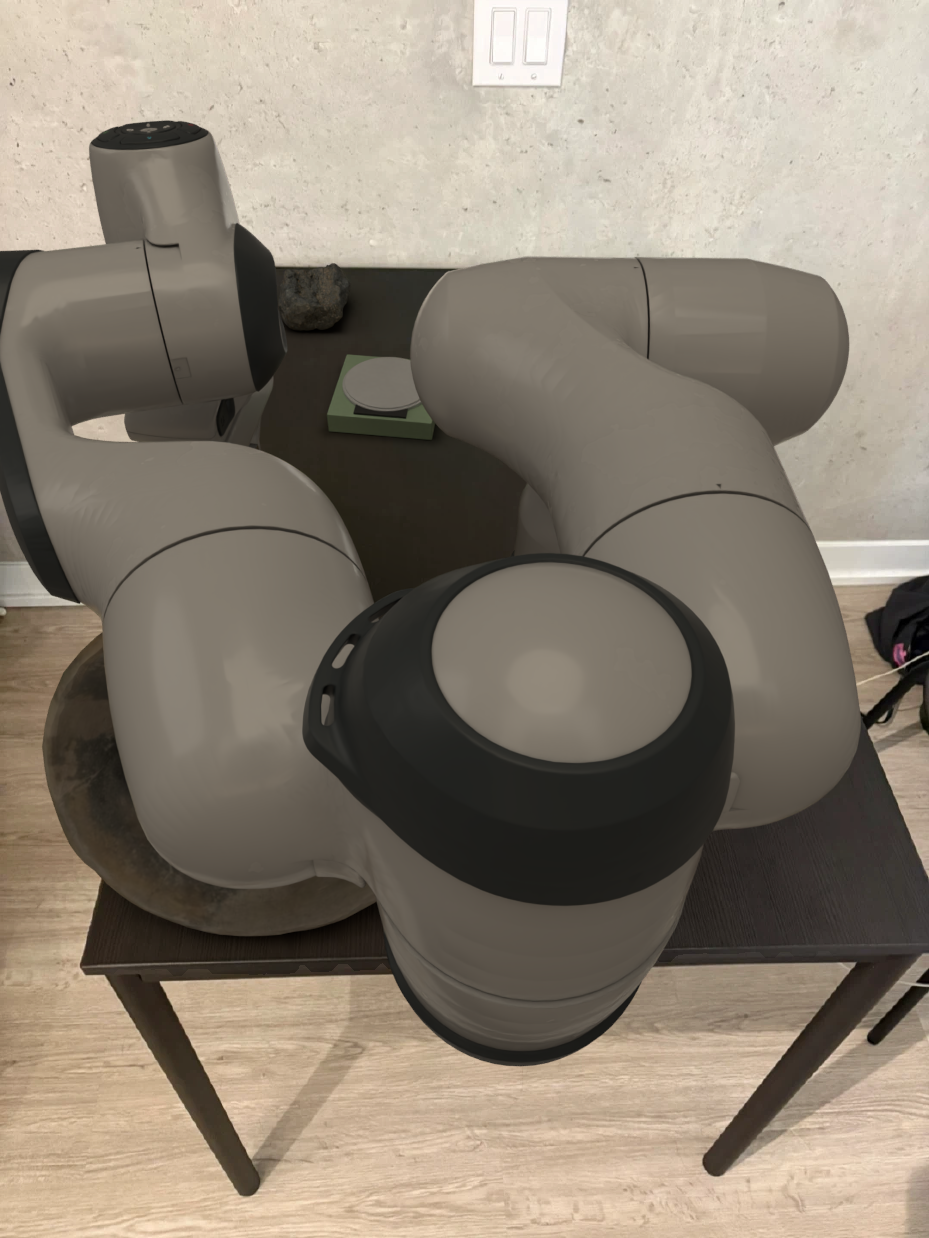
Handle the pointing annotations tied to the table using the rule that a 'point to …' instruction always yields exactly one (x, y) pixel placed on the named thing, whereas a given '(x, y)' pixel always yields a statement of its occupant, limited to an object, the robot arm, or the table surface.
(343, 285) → the rock
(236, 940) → the table surface
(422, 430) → the scale
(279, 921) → the bowl
